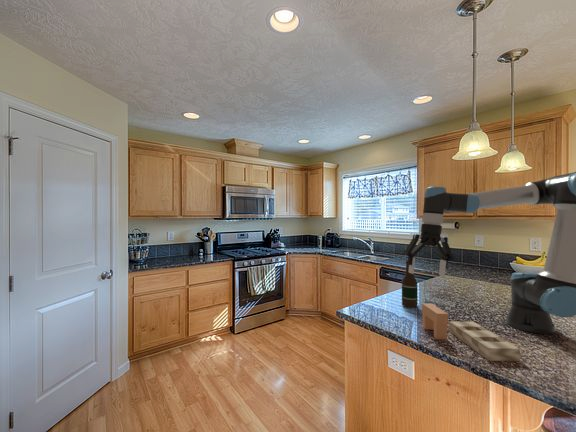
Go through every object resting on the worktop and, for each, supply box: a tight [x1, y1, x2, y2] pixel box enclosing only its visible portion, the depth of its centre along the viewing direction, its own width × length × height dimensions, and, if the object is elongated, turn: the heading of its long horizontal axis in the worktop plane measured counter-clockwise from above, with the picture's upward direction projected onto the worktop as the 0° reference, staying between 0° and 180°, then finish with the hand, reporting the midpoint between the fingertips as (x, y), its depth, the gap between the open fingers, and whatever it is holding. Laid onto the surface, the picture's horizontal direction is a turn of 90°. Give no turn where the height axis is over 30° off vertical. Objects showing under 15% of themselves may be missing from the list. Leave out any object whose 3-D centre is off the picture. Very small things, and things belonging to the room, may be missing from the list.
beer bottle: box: [401, 259, 419, 309], centre depth 138 cm, size 8×8×24 cm
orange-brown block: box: [421, 303, 449, 340], centre depth 105 cm, size 12×4×10 cm, turn 178°
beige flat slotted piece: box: [448, 321, 521, 362], centre depth 95 cm, size 10×22×4 cm, turn 178°
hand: (426, 274), depth 109 cm, fingers open, 13 cm apart
